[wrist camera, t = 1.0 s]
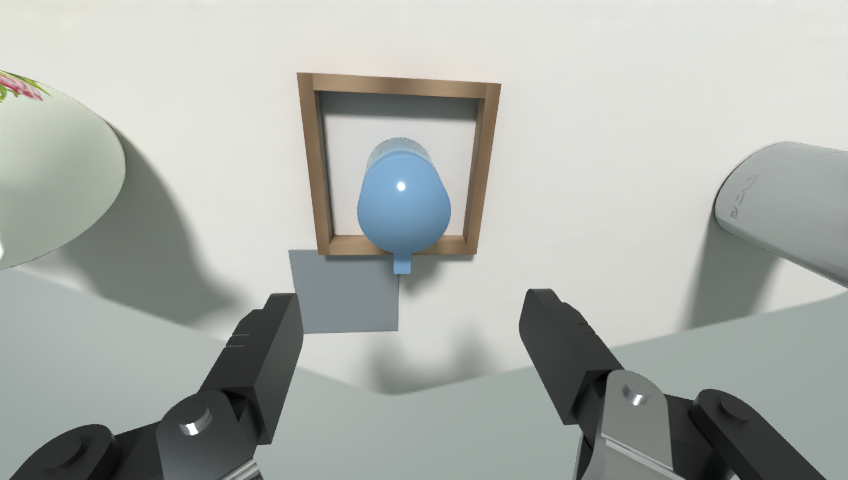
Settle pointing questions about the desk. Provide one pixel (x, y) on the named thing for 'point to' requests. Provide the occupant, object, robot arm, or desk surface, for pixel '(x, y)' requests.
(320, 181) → the holder
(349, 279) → the mat
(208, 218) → the desk surface
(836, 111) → the desk surface
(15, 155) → the pitcher
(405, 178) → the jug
